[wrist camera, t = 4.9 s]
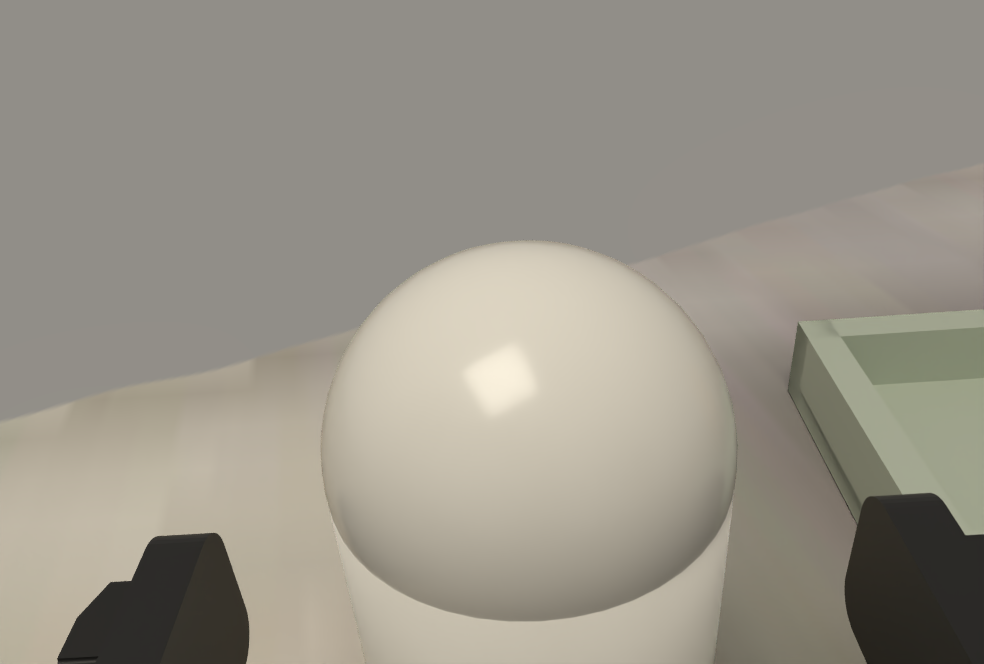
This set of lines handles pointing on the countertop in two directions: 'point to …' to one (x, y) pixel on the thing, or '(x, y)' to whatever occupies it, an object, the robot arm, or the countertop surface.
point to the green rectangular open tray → (897, 406)
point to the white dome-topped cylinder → (531, 466)
